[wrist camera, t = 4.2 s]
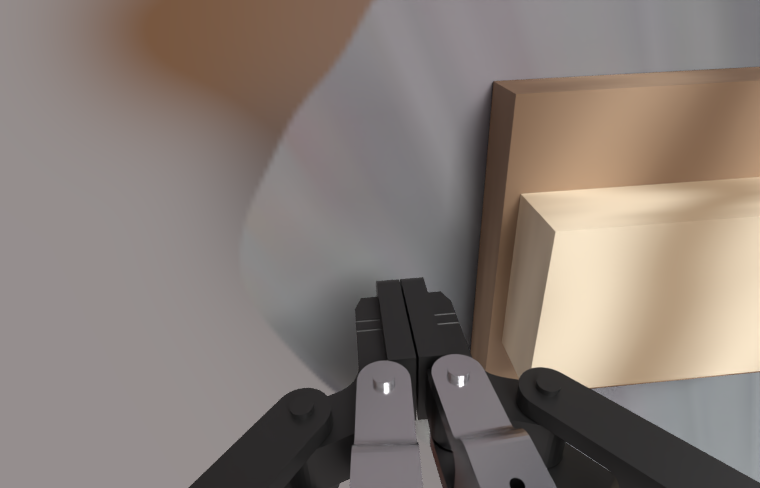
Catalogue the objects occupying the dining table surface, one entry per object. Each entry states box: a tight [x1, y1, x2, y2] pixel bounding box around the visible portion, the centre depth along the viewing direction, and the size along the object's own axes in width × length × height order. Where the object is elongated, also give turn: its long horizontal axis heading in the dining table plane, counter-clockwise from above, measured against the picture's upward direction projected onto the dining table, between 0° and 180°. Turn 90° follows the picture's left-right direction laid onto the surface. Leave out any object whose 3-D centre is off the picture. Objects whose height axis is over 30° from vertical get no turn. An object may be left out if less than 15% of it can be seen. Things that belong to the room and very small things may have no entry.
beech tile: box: [502, 177, 760, 388], centre depth 15 cm, size 9×6×2 cm, turn 92°
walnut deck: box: [470, 67, 760, 389], centre depth 17 cm, size 12×12×2 cm
